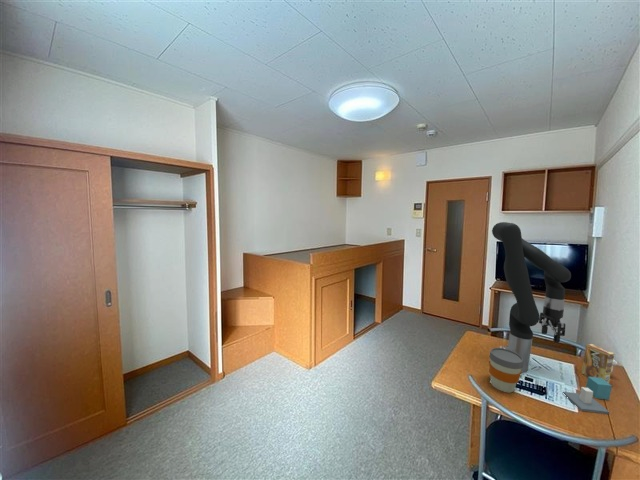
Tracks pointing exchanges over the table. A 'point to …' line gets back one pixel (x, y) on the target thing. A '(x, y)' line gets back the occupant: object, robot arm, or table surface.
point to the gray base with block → (586, 401)
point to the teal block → (599, 387)
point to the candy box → (597, 362)
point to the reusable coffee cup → (505, 369)
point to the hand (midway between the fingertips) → (550, 337)
